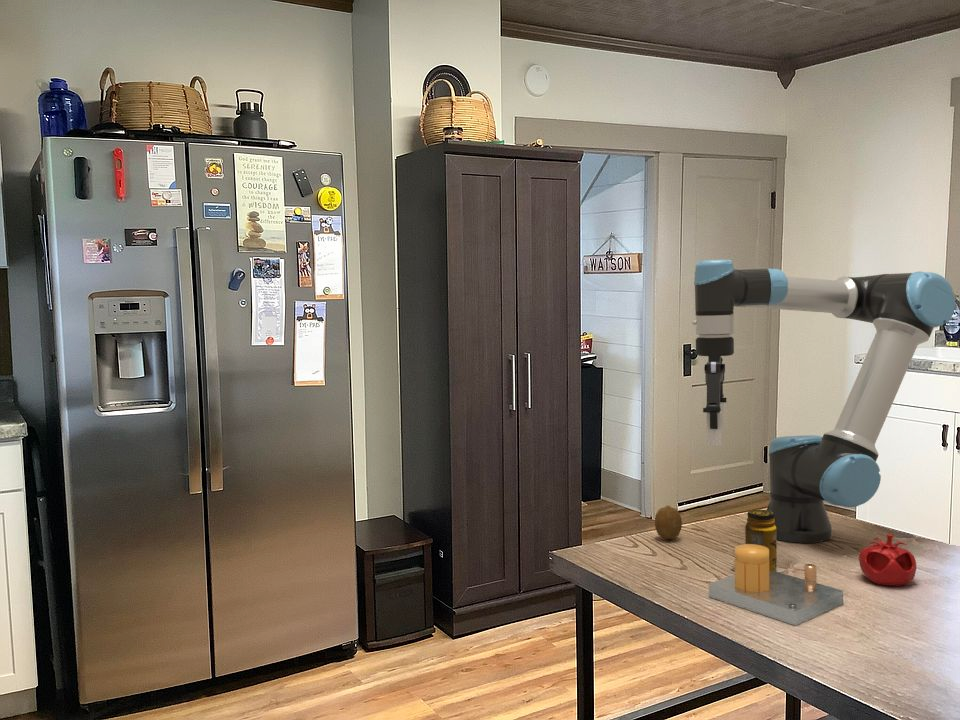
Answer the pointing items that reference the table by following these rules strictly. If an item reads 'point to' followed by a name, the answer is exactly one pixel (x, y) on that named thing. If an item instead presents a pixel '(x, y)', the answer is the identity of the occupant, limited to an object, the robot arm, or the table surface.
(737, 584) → the wire nut
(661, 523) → the fruit
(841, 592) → the plate
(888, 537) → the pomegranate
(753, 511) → the condiment
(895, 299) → the robot arm
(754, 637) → the table surface
